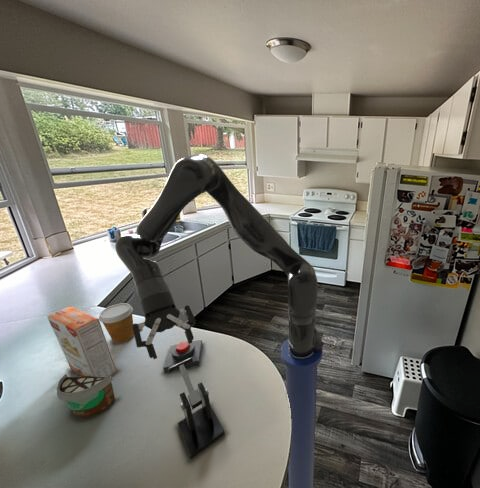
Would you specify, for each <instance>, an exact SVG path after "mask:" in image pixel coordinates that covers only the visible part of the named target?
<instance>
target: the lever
mask: <svg viewBox="0 0 480 488" xmlns="http://www.w3.org/2000/svg"><path fill="white" fill-rule="evenodd" d="M191 362H193V359H192V357H191V358H189V359H187V360H185V361H183V362H181V363H179V364H176V365H174V366H172V367H170V368H168V370H169V372H168V373H169V374H171V373H173V372H176V371H178V370H177V369H180V370H179V372H180V374H181V377H182V379H183V381H184V385H185V386H186V389H187V392H188V394H187V399H188V401H189V403H190V406H191V411H193V410H195V409H196V408H198V407H200V406H202V405H201V404H202V398H201V396H200V394H199V389H196V390H195V388H194V385H193V383H192V380H191V378H190V375H189V374H188V371H187V368H186V369H185V365H187V364H189V363H191ZM175 370H176V371H175Z"/></svg>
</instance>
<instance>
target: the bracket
mask: <svg viewBox="0 0 480 488" xmlns="http://www.w3.org/2000/svg"><path fill="white" fill-rule="evenodd" d="M197 390H198V391H199V394H200V396H201V398H202V404H201V405H200V406H201V408H199V409H198V410H196V411H194V412H192V411H193V410H192V407H191V405H190V402H189V400H188V396H187V395H186V393H185V391H183V392H181V393H180V394H179V399H180V402H181V403H180V408H181V411H183V414H184V418H183V419H181V420H180V421H178V422H177V426H178V430H179V431H180V434H181V436H182V437H181V438H182V439H183V442H184V445H185V448H186V449H187V452H188V455H189V458H190V459H191V460H192V459H193V458H194V457H196V456H197V455H198V454H200V453H201V452H203V451H204V450H205V449H207V448H208V447H209V446H211V445H213V443H215V442H216V441H218V440H219V439H221V438H222V437H223V436H225V435H226V431H225V429H224V427H223V425H222V424H221V422H220V420H219V418H218V416H217V414H216V412H215V411H214V409H213V407H212V405H211V402H210V392H209V390H208V389H207V388H206V387H205V385H204V383H203V382H202V381H201V382H198V383H197Z"/></svg>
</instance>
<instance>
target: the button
mask: <svg viewBox="0 0 480 488" xmlns="http://www.w3.org/2000/svg"><path fill="white" fill-rule="evenodd" d="M177 344H178V345H177V346H176V349H177V352H178V353H184V352H186V351H188V350H189V344H188V342H187V341H181V342H179V343H177Z"/></svg>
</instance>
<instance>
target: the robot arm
mask: <svg viewBox="0 0 480 488" xmlns="http://www.w3.org/2000/svg"><path fill="white" fill-rule="evenodd" d="M205 193H207V194H208V195H209V196H210V197H211V198H212V199H213V200H214V201H215V202H216V203H217V205H219V206H220V208H221V209H222V211H223V212H224V214H225V217H226V218H227V220H228V222H229V225H230V226H231V228H232V230H233V232H234V233H235V234H236V236H237V237H238V238H239V239H240V240H241V241H242V242H244V244H245V245H246V246H248V247H249V248H250V249H251V250H252V251H254V253H257V254H259V255H260V256H262V257H264V258H267V259H268V260H271V261H272V262H273V263H275V264H276V265H277V266H278V267H279V269H281V271H282V272H283V273H284V275H286V277H287V311H288V339H289V340H288V339H287V340H288V342H289V353H290V355H291V356H292V357H294V358H296V359H306V358H309V357H310V356H312V355H313V354H314V353H316V350H319V349H323V347H324V341H323V340H322V338H321V336H320V334H318V330H317V328H316V317H317V315H316V314H317V305H318V292H319V290H318V289H319V284H318V283H319V282H318V278H317V273H316V270H315V267H314V266H313V265H312V264H311V263H310V262H309V261H308V260H307V259H305V258H304V257H303V256H301V255H300V253H298V252H297V251H296V250H295V249H294V248H293V247H291V245H289V243H288V241H286V239H284V237H283V236H282V235H281V234H280V232H279V231H278V230H277V229H276V228H275V227H274V226H273V224H271V222H269V220H268V219H266V217H264V215H263V214H262V213H261V212H260V211H258V209H257V208H256V207H255V206H254V205H253V204H252V202H250V201H249V200H248V199H247V198H246V197H245V196H244V195H243V194H242V193H241V192H240V191H239V189H238V188H237V187H236V186H235V185H234V183H233V182H232V180H230V178H229V177H228V176H227V174H226V173H225V171H223V170H222V168H221V167H220V166H219V164H218V163H217V162H216V161H215V160H214V159H213V158H211V157H210V156H208V155H206V154H202V153H201V154H200V153H196V154H192V155H189V156H186V157H183V158H181V159H179V160H177V162H175V164H174V165H173V167H172V169H171V171H170V173H169V176H168V178H167V180H166V182H165V184H164V187H163V188H162V191H161V193H160V194H159V196H158V198H157V199H156V200H155V202H154V204H153V205H152V206H151V208H150V209H149V210H148V211H147V212H146V214H145V215H144V217H143V218H142V219H141V220H140V222H139V223H138V224H137V226H136V233H137V234H125V235H121V236H120V237H119V238H117V240H116V241H115V245H114V246H115V248H114V249H115V252H116V254H117V256H118V258H119V259H120V261H121V262H122V263H123V265H124V266H125V267H126V269H127V270H128V271H129V272H130V274H131V276H132V279H133V283H134V286H135V288H136V289H135V290H136V294H137V298H138V300H137V301H138V302H139V305H140V307H141V310H142V313H143V316H144V321H143V322H140V323H133V326H132V327H133V332H134V336H133V337H134V340H135V341H134V342H135V345H136V348H146V351H147V353H148V357H149V358H150V359H153V360H156V359H158V356H157V352H156V349H155V347H154V344H153V341H154V339H155V337H156V334H157V333H164V332H165V331H167V330H171V329H173V328H174V327H177V328H179V329H182V330H183V331H184V334H185V337H186V340H187V341H188V343H189V344H190V343H192V341H194V338H195V337H194V335H193V331H192V328H193V326H195V325H196V323H197V321H196V318H195V316H194V313H193V311H192V309H191V307H190V306H189V305H185V306H184V307H182V308H180V309H179V308H177V307H176V303H175V300H174V298H173V295H172V292H171V289H170V287H169V284H168V283H167V281H166V278H165V276H164V273H163V270H162V267H161V265H160V263H158V262H157V261H155V260H149V259H151V258H154V257H156V256H157V255H158V254H159V252H160V251H161V247H162V244H163V241H164V238H165V237H166V235H167V234H168V233H169V232H170V231H171V230H172V229H173V227H174V226H175V224H176V222H177V221H178V219H179V217H180V214H181V213H182V211H183V210H184V209H185V208H186V206H187V205H189V204H190V203H192V201H193V200H195V199H196V198H197V197H198V196H200V195H202V194H205ZM180 314H181V315H183V316H186V319H187V320H188V322H189V323H187V322H185V321H184V320H182V319H181V318H179V317H180ZM144 327H146V328H148V329H150V332H149V334H148V336H147V339H146V340H142V335H141V332H143V331H144Z"/></svg>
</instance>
